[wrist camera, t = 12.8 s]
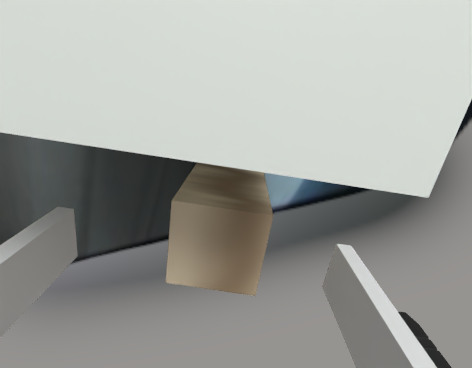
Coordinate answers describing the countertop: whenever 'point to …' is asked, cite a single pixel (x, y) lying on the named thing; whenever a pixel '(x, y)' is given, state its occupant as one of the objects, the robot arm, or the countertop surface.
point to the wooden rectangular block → (219, 229)
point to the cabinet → (246, 82)
